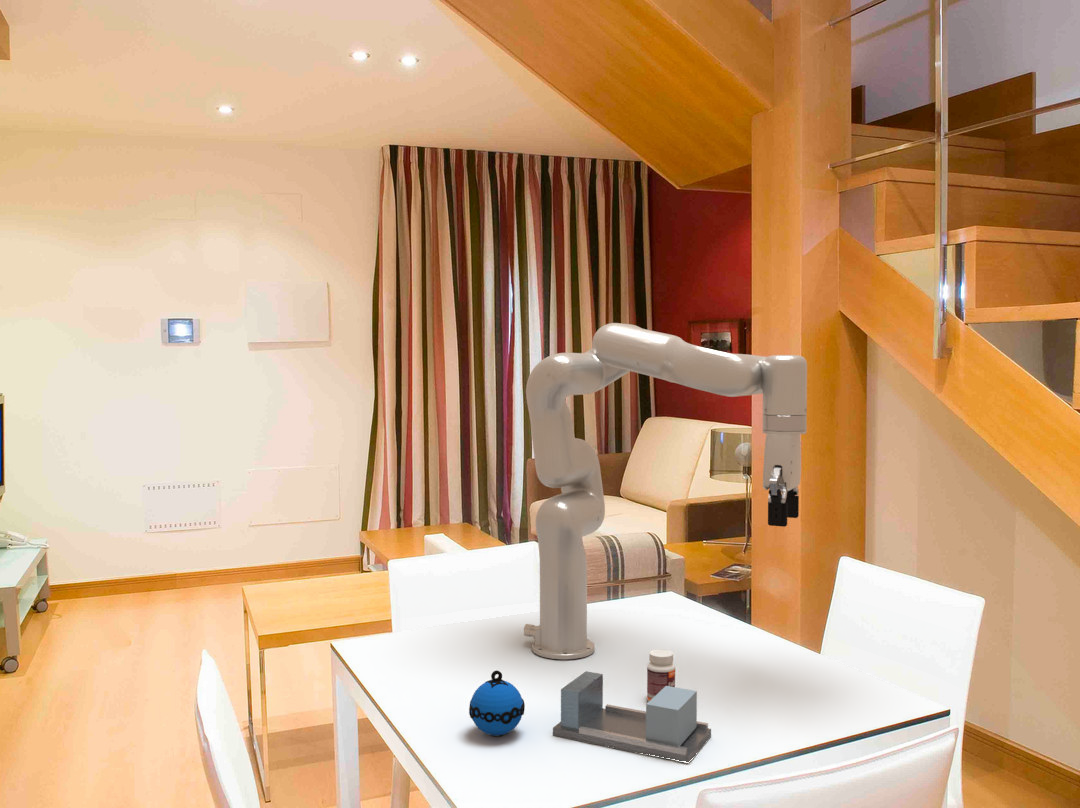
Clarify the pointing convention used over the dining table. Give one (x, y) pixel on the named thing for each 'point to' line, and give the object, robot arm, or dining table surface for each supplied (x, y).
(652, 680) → the pill bottle
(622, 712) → the vise base
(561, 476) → the robot arm
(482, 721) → the ornament
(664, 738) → the plate
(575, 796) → the dining table surface
